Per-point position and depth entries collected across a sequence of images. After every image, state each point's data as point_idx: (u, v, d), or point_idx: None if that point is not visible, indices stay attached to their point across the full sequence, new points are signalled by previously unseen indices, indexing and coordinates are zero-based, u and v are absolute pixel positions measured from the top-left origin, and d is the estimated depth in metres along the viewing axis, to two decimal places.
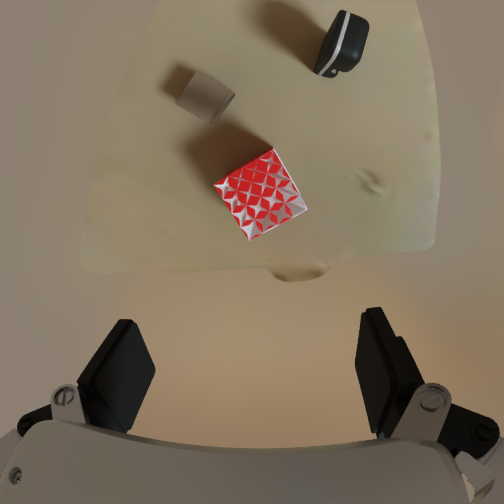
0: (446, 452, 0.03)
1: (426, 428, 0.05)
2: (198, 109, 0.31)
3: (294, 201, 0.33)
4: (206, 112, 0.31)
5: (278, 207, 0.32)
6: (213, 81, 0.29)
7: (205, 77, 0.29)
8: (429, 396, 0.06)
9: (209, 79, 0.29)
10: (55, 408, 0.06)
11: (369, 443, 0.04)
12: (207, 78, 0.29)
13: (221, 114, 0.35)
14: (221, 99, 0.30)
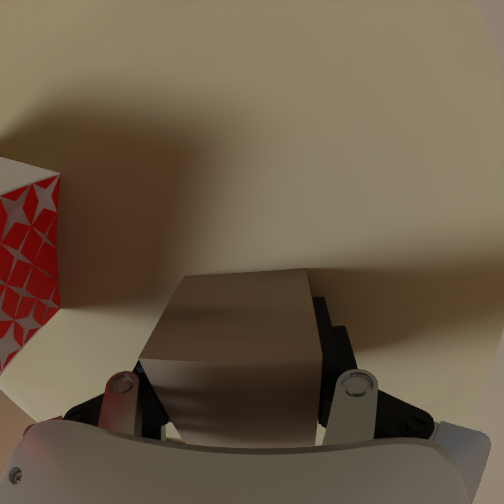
0: (446, 452, 0.03)
1: (343, 411, 0.06)
2: (208, 382, 0.07)
3: None
4: (173, 384, 0.07)
5: None
6: (243, 446, 0.09)
7: (274, 445, 0.09)
8: (353, 382, 0.07)
9: (258, 445, 0.09)
10: (113, 397, 0.07)
11: (369, 443, 0.04)
12: (267, 445, 0.09)
13: None
14: (176, 423, 0.08)
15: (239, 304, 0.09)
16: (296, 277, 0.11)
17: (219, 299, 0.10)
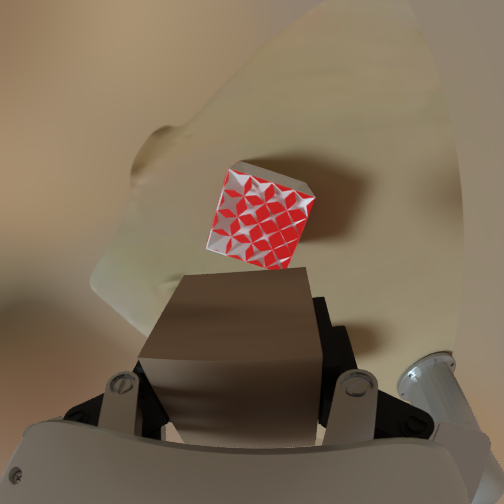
0: (446, 452, 0.03)
1: (343, 411, 0.06)
2: (208, 381, 0.07)
3: (223, 241, 0.27)
4: (173, 383, 0.07)
5: (232, 227, 0.26)
6: (243, 446, 0.09)
7: (274, 445, 0.09)
8: (353, 382, 0.07)
9: (258, 445, 0.09)
10: (114, 397, 0.07)
11: (369, 443, 0.04)
12: (267, 445, 0.09)
13: None
14: (176, 423, 0.08)
15: (239, 303, 0.09)
16: (296, 276, 0.11)
17: (219, 298, 0.10)
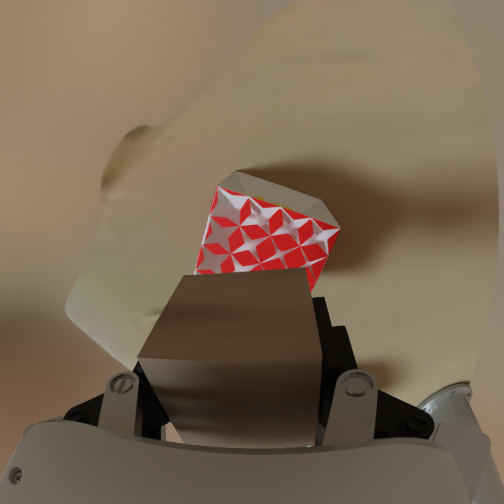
0: (446, 452, 0.03)
1: (343, 411, 0.06)
2: (208, 381, 0.07)
3: None
4: (172, 383, 0.07)
5: (224, 268, 0.19)
6: (242, 446, 0.09)
7: (274, 445, 0.09)
8: (353, 382, 0.07)
9: (258, 445, 0.09)
10: (114, 397, 0.07)
11: (369, 443, 0.04)
12: (266, 445, 0.09)
13: None
14: (176, 423, 0.08)
15: (238, 303, 0.09)
16: (296, 276, 0.11)
17: (218, 298, 0.10)
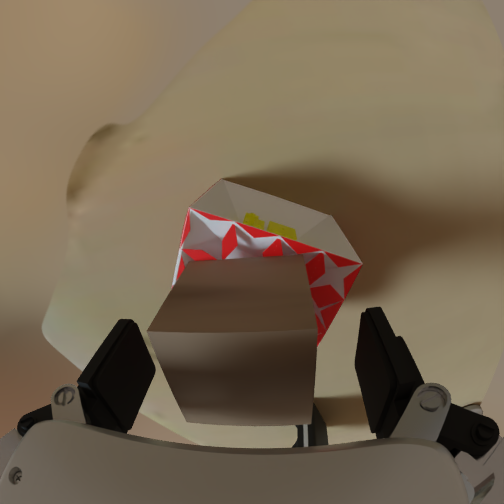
0: (446, 452, 0.03)
1: (426, 428, 0.05)
2: (212, 354, 0.08)
3: None
4: (178, 357, 0.08)
5: None
6: (242, 423, 0.10)
7: (273, 423, 0.09)
8: (429, 396, 0.06)
9: (257, 423, 0.10)
10: (55, 408, 0.06)
11: (369, 443, 0.04)
12: (265, 422, 0.09)
13: None
14: (179, 399, 0.09)
15: (241, 284, 0.10)
16: (294, 262, 0.11)
17: (222, 280, 0.11)
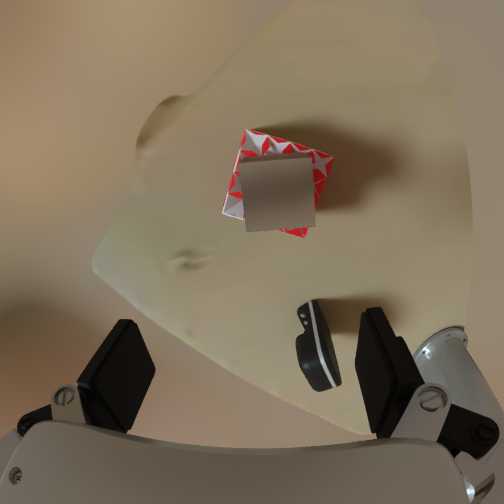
0: (446, 452, 0.03)
1: (426, 428, 0.05)
2: (267, 172, 0.19)
3: (240, 206, 0.26)
4: (251, 176, 0.19)
5: None
6: (278, 227, 0.20)
7: (295, 225, 0.20)
8: (429, 396, 0.06)
9: (286, 226, 0.20)
10: (55, 408, 0.06)
11: (369, 443, 0.04)
12: (291, 225, 0.20)
13: None
14: (246, 210, 0.20)
15: (275, 156, 0.21)
16: (299, 153, 0.22)
17: (266, 156, 0.21)
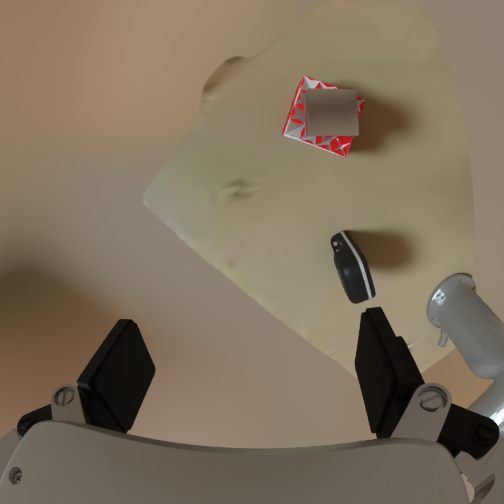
0: (446, 452, 0.03)
1: (426, 428, 0.05)
2: (327, 96, 0.24)
3: (297, 131, 0.31)
4: (316, 97, 0.25)
5: None
6: (334, 133, 0.26)
7: (345, 133, 0.26)
8: (429, 396, 0.06)
9: (339, 133, 0.26)
10: (55, 408, 0.06)
11: (369, 443, 0.04)
12: (342, 133, 0.26)
13: (304, 107, 0.29)
14: (312, 120, 0.26)
15: None
16: None
17: None
